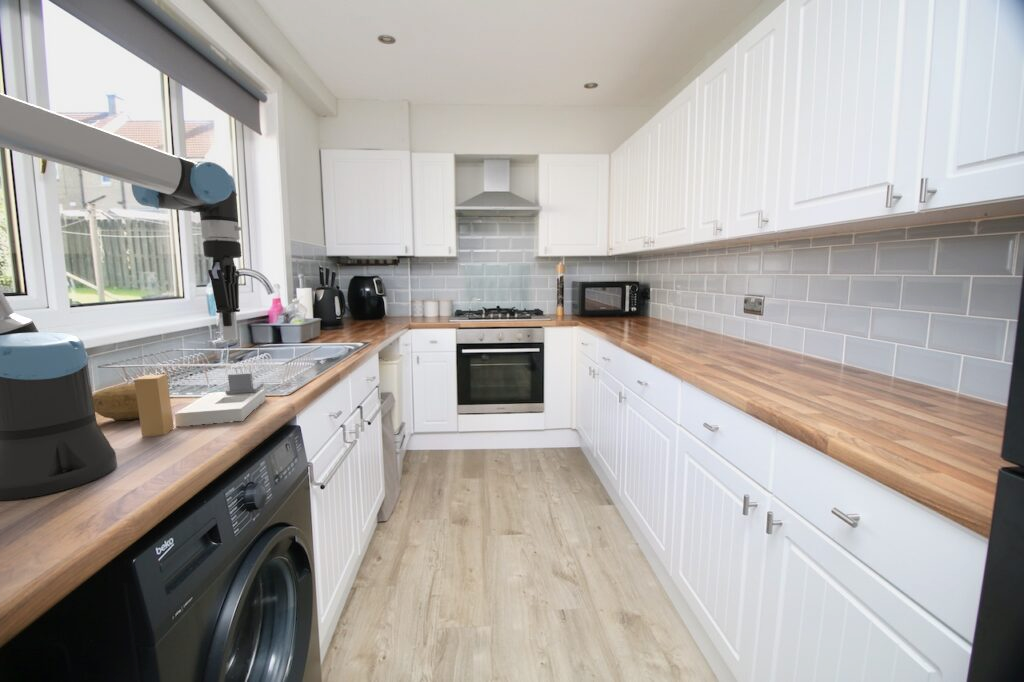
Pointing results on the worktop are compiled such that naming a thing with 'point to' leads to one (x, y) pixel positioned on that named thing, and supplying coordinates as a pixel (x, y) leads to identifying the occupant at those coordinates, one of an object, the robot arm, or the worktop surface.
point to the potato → (117, 402)
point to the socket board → (219, 408)
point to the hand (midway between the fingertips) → (230, 339)
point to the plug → (154, 404)
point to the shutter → (242, 383)
